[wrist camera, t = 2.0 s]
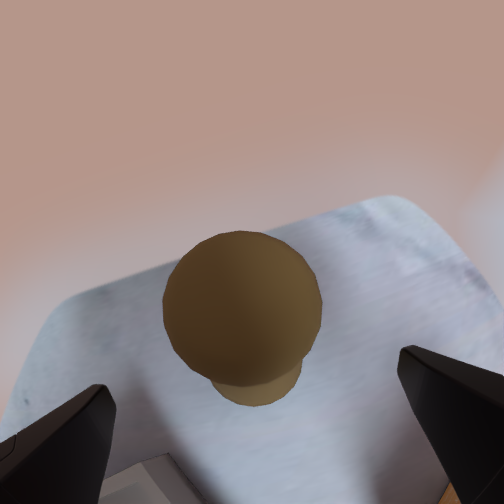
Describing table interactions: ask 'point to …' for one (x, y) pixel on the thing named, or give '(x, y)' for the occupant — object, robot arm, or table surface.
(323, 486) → the table surface
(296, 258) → the cork
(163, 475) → the tray
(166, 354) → the table surface
